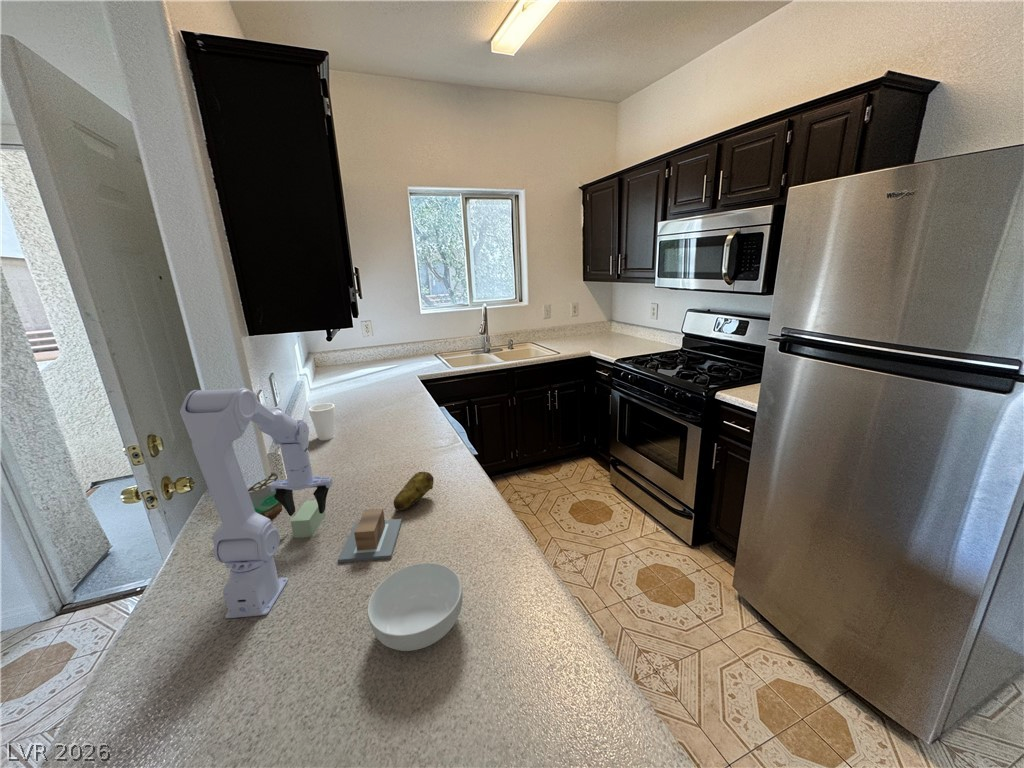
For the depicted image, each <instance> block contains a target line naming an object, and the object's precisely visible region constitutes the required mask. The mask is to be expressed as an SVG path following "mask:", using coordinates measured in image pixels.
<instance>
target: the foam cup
mask: <svg viewBox="0 0 1024 768" xmlns="http://www.w3.org/2000/svg"><path fill="white" fill-rule="evenodd" d="M308 413H309V416H310V418H311V421H312V424H313V427H314V429H315V433H316V435H317V438H318V440H319V441H329V440H332V439H335V437H336V407H335V404H334V403H328V402H326V403H325V402H324V403H320V404H319V403H318V404H314V405H312V406H311V407H309V408H308Z"/></svg>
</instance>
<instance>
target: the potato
mask: <svg viewBox="0 0 1024 768" xmlns="http://www.w3.org/2000/svg"><path fill="white" fill-rule="evenodd" d="M434 479H435V478H434V476H433V475H432V474H431V473H430V472H428V471H419V472H416V473H414V475H412V477H411V478H410V479H409V480H408V481H407V482H406V484H404V485H403V486H404V487H402V489H401V490H400V491H399V492H398V493H397V494H396V496H395V498H394V499H393V507H394V509H395V510H397V511H400V512H401V511H405V510H407V509H409V507H410V506H412V505H414V504H416V503H417V502H418V501H420V500H421V499H422V498H423V497H424V496H425V495H426V494H427V493H428V492H429V491H430V490H432V489H433V487H434V483H435V480H434Z"/></svg>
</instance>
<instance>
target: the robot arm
mask: <svg viewBox="0 0 1024 768" xmlns="http://www.w3.org/2000/svg"><path fill="white" fill-rule="evenodd" d="M257 397H258V396H257V395H256V393H255V392H254V391H251V390H250V389H249V388H247V387H240V388H231V389H229V388H228V389H225V388H224V389H207V390H203V389H194V390H191V391H189V392H188V394H186V397H184V400H183V402H182V405H181V407H180V410H179V414H180V416H181V418H182V421H183V423H184V426H185V429H186V431H187V435H188V436H189V439H190V441H191V447H192V450H193V453H194V455H195V458H196V460H197V463H198V465H199V467H200V468H199V469H200V471H201V474H202V475H203V478H204V481H205V483H206V486H207V488H208V491H209V493H210V496H211V499H212V500H213V504H214V506H215V509H216V512H217V514H218V516H219V519H220V522H221V524H219V525H218V526H217V528H216V529H215V530H214V532H213V533H212V536H211V539H212V542H213V554H214V557H215V560H216V561H217V562H218V563H220V564H224V565H225V568H226V569H229V572H230V574H229V577H228V580H227V582H226V584H225V586H224V587H223V591H222V593H223V597H224V601H225V605H226V607H227V612H226V614H225V615H224V618H225V619H234V618H246V617H256V616H266V615H268V614H269V613H270V612H271V609H272V608H273V606H274V604H275V602H276V601H277V600H278V598H279V596H280V594H281V593H282V591H283V590H284V588H285V586H286V584H287V583H288V582H289V577H279V575H278V572H277V567H276V563H275V558H274V556H275V555H276V553H277V552H278V549H279V547H280V541H281V540H280V539H281V538H280V533H279V531H278V529H277V528H276V527H275V526H274V524H272V519H271V520H270V519H269V518H267V517H265V516H263V515H260V514H258V513H256V512H255V509H254V507H253V504H252V501H251V498H250V495H249V492H248V490H249V488H248V487H247V484H246V481H245V478H244V475H243V473H242V469H241V466H240V464H239V461H238V458H237V454H236V452H235V449H234V446H233V443H234V441H236V440H238V439H240V438H241V437H243V435H244V433H245V431H246V430H247V428H248V426H249V425H250V422H252V423H255V424H256V426H257V429H258V430H259V431H260V432H262V433H263V434H266V435H268V436H270V437H271V439H272V441H273V443H274V444H275V445H279V447H280V452H281V456H282V461H283V464H284V465H283V467H284V470H285V475H286V479H281V480H280V481H273V482H272V483H271V484H270V489H271V492H275V491H276V494H275V495H274V498H275V499H276V500H277V501H279V502H280V503H281V504H282V508H284V509H285V511H286V512H287V514H288V516H289V517H292V516H293V515H294V514H295V512H296V506H295V501H294V493H293V491H300V490H306V489H309V488H310V489H311V488H315V490H314V491H313V493H312V494H313V497H314V498H315V501H316V500H317V503H318V509H319V513H320V514H322V513H323V512H324V511H325V512H326V503H327V496H328V493H329V490H330V488H332V486H333V485H334V482H333V477H329V476H327V477H326V476H318V475H314V474H313V469H312V464H311V458H310V454H309V453H310V452H309V449H308V447H309V445H310V441H309V439H310V438H309V437H310V427H309V425H308V423H307V422H305V421H304V420H303V419H295V418H293V417H292V416H291V415H288V414H286V413H285V412H283V410H282V408H280V407H272V408H268V407H266V406H265V405H264V404H262V403H261V402H260V401H258V398H257Z"/></svg>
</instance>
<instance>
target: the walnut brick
mask: <svg viewBox="0 0 1024 768" xmlns="http://www.w3.org/2000/svg"><path fill="white" fill-rule="evenodd" d="M385 520H386V519H385V514H384V509H383V508H374V509H365V510H364V511H363V513H362V516H361V517H360V519H359V521H358V522H359V524H358V526H357V528H356V530H355V532H354V534H355V540H356V546H357V551H359V550H372V549H377V547H378V544H379V542H380V539H381V536H382V533H383V531H384V528H385Z"/></svg>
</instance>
